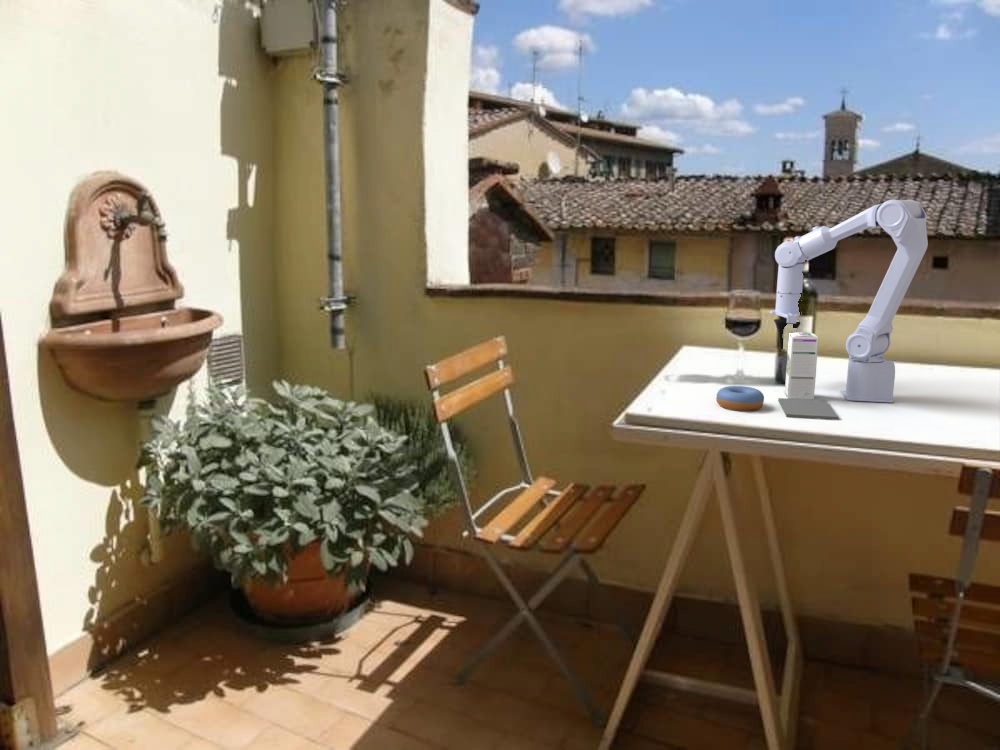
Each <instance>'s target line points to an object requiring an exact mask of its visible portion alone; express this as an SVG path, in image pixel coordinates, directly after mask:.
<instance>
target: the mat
mask: <svg viewBox="0 0 1000 750" xmlns="http://www.w3.org/2000/svg"><path fill="white" fill-rule="evenodd" d="M777 401H778V403H779V405H780V407H781V409H782V411H783V413H784V415H785V417H786V418H797V417H798V418H800V419H801V418H802V419H814V418H824V419H823V420H832V419H838V420H839V416H838V414H837V413H836V412H835V410H834V409H833V408H832V406H831V405H830V404H829V402H828V401H827V400H824V399H823V400H822V399H821V400H820V399H814V400H805V399H789V398H783V397H781V398H780V397H778V400H777ZM798 418H797V419H798Z"/></svg>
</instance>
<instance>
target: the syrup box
mask: <svg viewBox="0 0 1000 750" xmlns="http://www.w3.org/2000/svg"><path fill="white" fill-rule="evenodd" d="M818 345H819V336H817V334H815V333H813V332H808V331H807V332H804V331H802V332H801V331H798V332H797V331H796V332H793V333H789V338H788V350H787V355H786V357H787V358H786V369H785V380H784V381H785V384H784V385H785V386H784V394H785V395H786V397H787V399H805V400H815V390H816V377H817V363H818V349H819V346H818Z"/></svg>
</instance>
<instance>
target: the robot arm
mask: <svg viewBox="0 0 1000 750" xmlns="http://www.w3.org/2000/svg"><path fill="white" fill-rule="evenodd" d="M927 218H928V214H927V213H926V211H925V210H924V208H923V207H922V205H921V203H919V202H918V201H916V200H914V199H904V200H903V199H902V200H899V199H889V200H886V201H885V202H883V203H879V204H876V205H873V206H871V207H869V208H867V209H865V210H863V211H861V212H859V213H857V214H856V215H853V216H851V217H850V218H847V219H846V220H844V221H842V222H840V223H839V224H836V225H834V226H833V227H828V226H825V225H822V226H821V225H816V226H814V227H812V228H811V229H812V231H810V232H808V233H805V234H804V235H802V236H801V235H798V236H797V235H796V236H795V237H794V238H793V242H791V241H784V242H781V244H779V245H778V246H777V248H776V249H775V251H774V258H775V259H774V260H775V262H776V263H777V264H778V268H777V269H778V271H777V283H776V294H775V295H776V296H775V297H776V299H775V309H774V310H771V309H770V310H769V314H771V315H776V316H778V317H781V318H782V317H783V319H782V320H781V318H779V319H778V318H775V319H773V322H774V324H775V326H776V329H777V334H778V342H779V343H778V345H779V348H781V349H780V350H784V349H783V338H782V334H783V329H784V327H785V326H786V325H787V324H793V328H797V329H798V328H799V327H800V325H801V321H799V322H796V319H798V317H800V316H801V315H800V312H799V307H798V304H799V303H798V301H799V299H800V297H801V294H800V293H802V294H803V285H804V283H803V282H804V275H803V273H802V271H803V264H801V263H803V262H805V260H807V262H808V261H810V260H812V259H814V258H816V257H819V256H820V255H823V254H825V253H827V252H829V251H832V250H833V249H835V248H836V246H837V243H838V242H839V241H841V240H842V239H845V238H848V237H850V236H852V235H855V234H858V233H860V232H863V231H864V230H866V229H869V228H877V227H878V228H879V227H881V229H883V230H884V231H885V232H886V233H887V234H888V235H889V236H890V237H891V239H892V240H893V242H894V244H895V246H896V249H897V250H896V252H895V254H894V256H893V258H892V259H891V262H890V264H889V268H888V269H887V271H886V274H885V276H884V278H883V280H882V282H881V285H880V287H879V289H878V290H877V293H876V295H875V297H874V300H873V302H872V304H871V306H870V308H869V310H868V312H867V314H866V316H865V317H864V318H863V320H861V321H860V322H859V324H858V325H857V328H856V329H855V331H853V333H850V334H849V336H848V337H847V338H846V341H845V349H846V352H847V354H848V366H847V376H846V384H845V390H840V393H841V394H842V396H843V397H844V398H845V399H846V400H847V401H854V402H855V401H858V402H872V403H873V402H874V403H894V400H893V396H894V388H895V380H896V365H895V362H894V361H892V360H886V357H885V355H884V354H885V353H886V352H888V350H889V349H890V346H891V334H892V332H893V329H894V328H893V320H894V319H895V317H896V314H897V312H898V310H899V307H900V306H901V304H902V301H903V300H904V298H905V296H906V293H907V291H908V288H909V287H910V284H911V283H912V280H913V278H914V277H915V274H916V272H917V270H918V268H919V266H920V264H921V261H922V260H923V257H924V256H925V253H926V251H927V250H928V246H929V244H928V243H929V242H928V233H927V232H928V231H927V230H928V229H927V220H928V219H927Z"/></svg>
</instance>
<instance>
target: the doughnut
mask: <svg viewBox="0 0 1000 750" xmlns="http://www.w3.org/2000/svg"><path fill="white" fill-rule="evenodd" d="M715 400H716V402H717V404H718V406H720V407H721V408H724V409H726V410H732V411H737V412H738V411H741V412H748V411H749V412H750V411H756V410H759V409H761V408H762V407H763V405H764V400H765V396H764V393H763V392H762V391H761V390H759V389H757V388H755V387H750V386H744V385H743V386H742V385H729V386H724V387H722V388H720V389H719V390H718V391H717V393H716V398H715Z"/></svg>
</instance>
